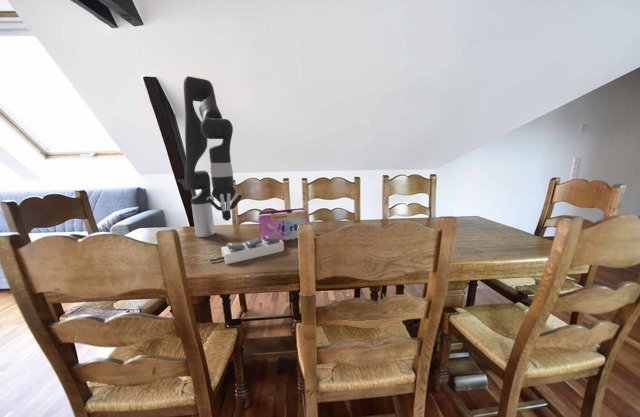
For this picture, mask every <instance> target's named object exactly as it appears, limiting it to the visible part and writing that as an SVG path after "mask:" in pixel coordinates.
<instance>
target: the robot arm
mask: <svg viewBox="0 0 640 417" xmlns="http://www.w3.org/2000/svg"><path fill="white" fill-rule="evenodd" d="M183 98H184V101H183V102H184V112H185V113H184V114H185V115H184V116H185V119H184V120H185V127H184V128H185V129H184V136H185V137H184V145H185V164H184V166H185V169H184V184H185V188H186V189H187V190H188V191H197V190H200V192H199V193H198V194H196V195H194V196H192V197H191V199H190V202H191V210H192V217H193V224H194V233H195V236H196V237H197V238H207V237H211V236H214V235H215V234H216V231H215V222H214V214H213V207H214V209H215V210H217V211H221V217H222V219H223V220H224V221H227V222H228V221H230V219H231V218H232V215H231V210H234V209H235V208H236V206H238V203H239V202H240V201H241V199H242V197H243V196H242V194H239V193H237V192H236V190H235V184H234V172H233V167H232V159H231V140H232V138H233V137H232V136H233V134H234V133H233V130H234V127H233V125H232V122H231V120H229V119H227V118H223V115H222V113H221V112H220V110H219V107H218V104H217V99H216V95H215V90H214V85H213V84H212V83H211V81H210V80H207V79H206V78H200V77H196V76H191V75H190V76H189V75H186V76H185V77H184V79H183ZM194 102H199V103H200V104H199V108H198V109H199V110H198V112H199V114H200V117H201V119H200V117H199V116H198V114H197V112H196V110H195V105H194ZM208 140H222V141H221V143H220V144H218V145H213V146H211V147H209V150H208V153H209V162H210V175H211V176H210V175H209V172H207V170H196V166H197V164H198V163H199V161H200V159H202V158H201V157H203V155H204V154H205V152H206V150H207V148H208ZM211 185H212V187H211ZM211 188H212V190H211ZM233 198H234V199H233ZM215 200H216V201H218V202H219V205H220V206H219V205H218V204H217V203H216V202H215ZM232 200H233V201H232ZM231 201H232V203H231Z"/></svg>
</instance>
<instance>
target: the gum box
mask: <svg viewBox="0 0 640 417" xmlns="http://www.w3.org/2000/svg"><path fill="white" fill-rule="evenodd" d="M308 211H309V210H307V209H305V208H304V207H303V208H301V207H298V208H291V209H280V210H279V209H278V210H269V211H268V210H265V211H260V212H258V216H257V221H258V223H259V230H260V231H259V232H260V237H261V238H260V239H263V236H277V237H278V238H279V239H280V240H281V241H283V242H284V241H289V240H290V239H291V240H296V239H295V238H297V227H298V225H299V224H300V223H305V224H308V225H309V222H308V221H309V219H308V218H309V214H308V213H309V212H308Z"/></svg>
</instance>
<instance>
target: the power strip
mask: <svg viewBox="0 0 640 417" xmlns="http://www.w3.org/2000/svg"><path fill="white" fill-rule="evenodd" d="M260 239H261V238H260ZM261 240H262V243H260V244H257V245H255V246H252V247H250V248H248V247H247V246H246V245H245V242H242V243H243V245H244V246H245V248H244V249H228V247H227V246H221V247H220V249H221V250H220V252H221V257H216V258H211V259H209V260H210V263H212V262H217V261H221V260H222V261H224V262H225V264H226V265H230V264H233V263H238V262H241V261H246V260H247V261H248V260H251V259H255V258H260V257H263V256H269V255H273V254H277V253H282V252H284V251H285V245H284V244H285V243H284V240H283V241H281V240H280V242H266V241H265V240H264V239H261Z"/></svg>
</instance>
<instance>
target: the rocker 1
mask: <svg viewBox="0 0 640 417" xmlns="http://www.w3.org/2000/svg"><path fill="white" fill-rule="evenodd" d="M243 243H244V242H226V246H227V247H228V249H244V248H245V246H244V245H243Z"/></svg>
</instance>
